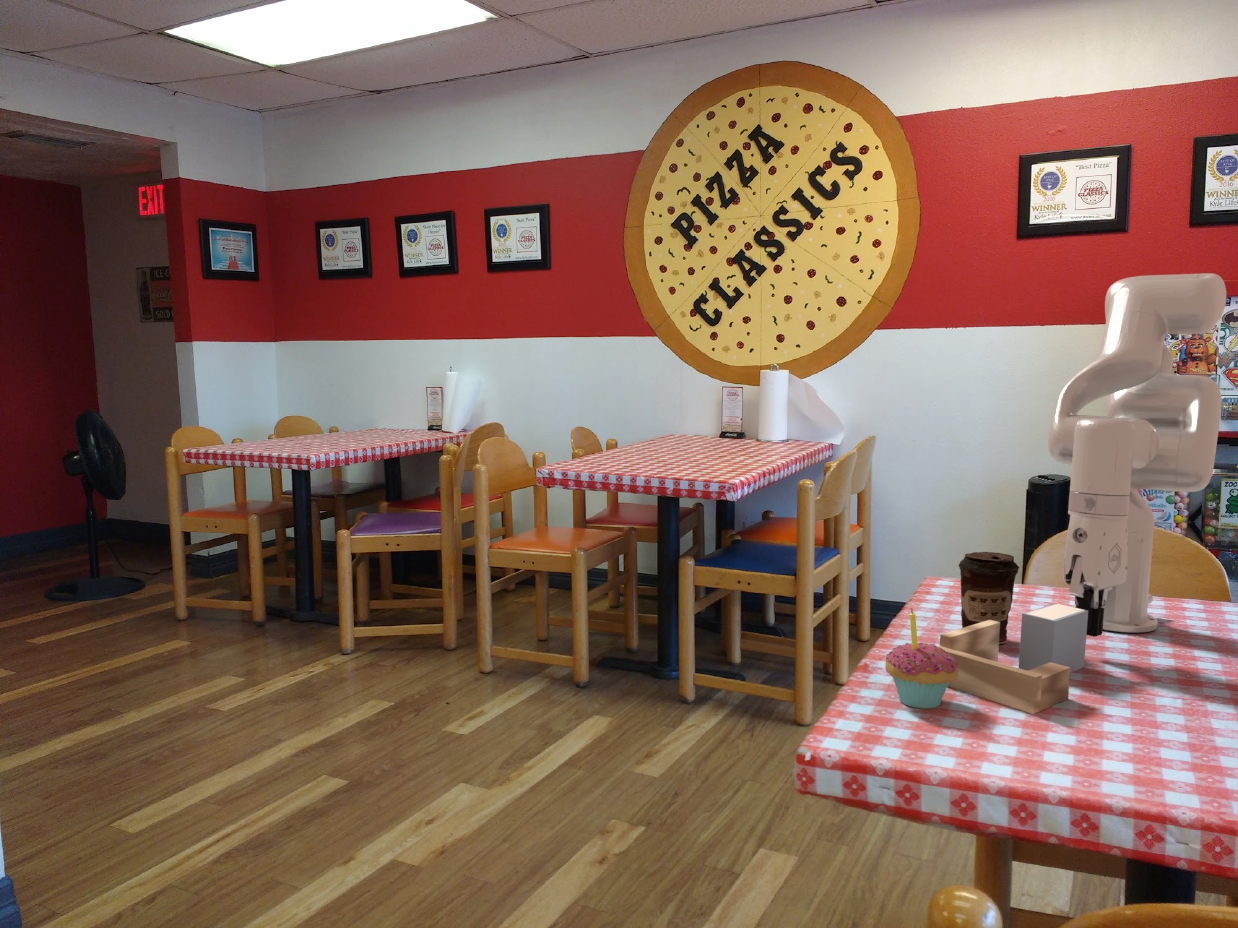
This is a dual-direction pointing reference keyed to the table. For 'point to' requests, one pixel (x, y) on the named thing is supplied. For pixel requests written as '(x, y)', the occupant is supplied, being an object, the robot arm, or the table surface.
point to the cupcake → (920, 671)
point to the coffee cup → (987, 589)
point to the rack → (1001, 671)
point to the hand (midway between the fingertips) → (1087, 633)
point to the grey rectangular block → (1053, 637)
